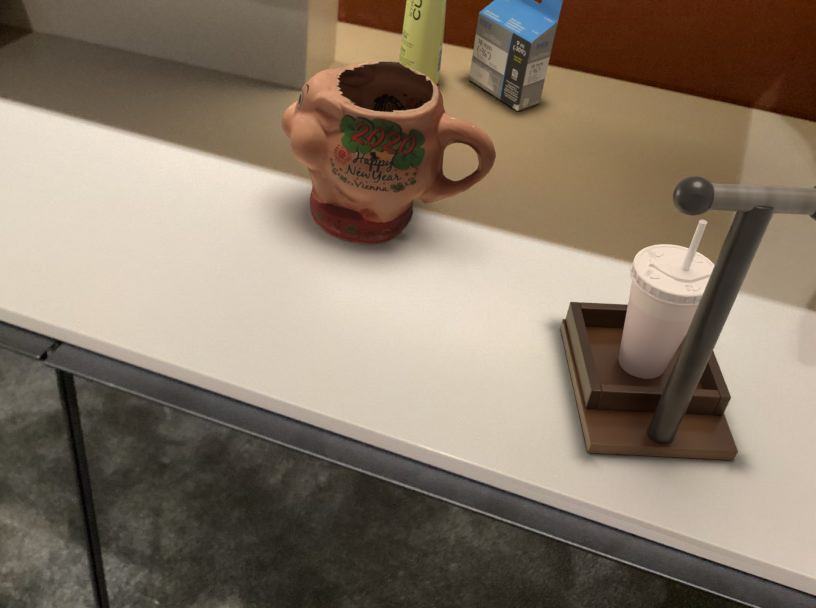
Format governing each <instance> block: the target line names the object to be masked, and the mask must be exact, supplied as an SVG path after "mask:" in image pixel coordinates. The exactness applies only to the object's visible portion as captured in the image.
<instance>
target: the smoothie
mask: <svg viewBox="0 0 816 608" xmlns="http://www.w3.org/2000/svg"><path fill="white" fill-rule="evenodd" d="M707 225H708V221H707V220H705V219H700V220H699V221H698V224H697V226H696V228H695V231H694V233H693V236H692V239H691V242H690V244H689V246H688V247H685V246H682V245H677V244H671V243H669V244H668V243H661V244H660V243H659V244H654V245H653V244H652V245H649V246H646V247H644V248H642V249H640V250H639V251H638V252H637V253H636V255H635V256H634V258H633V261H632V263H631V265H630V266H629V267H630V268H629V276H630V278H631V285H630V290H629V296H628V302H627V305H628V307H627V313H626V318H625V324H624V329H623V335H622V341H621V346H620V352H619V358H618V361H619V364H620V366H621V367H622V368H623V369H624V370H625V371H626V372H627V373H629V374H631V375H633V376H635V377H638V378H643V379H652V378H656V377H659V376H660V375H661V374H662V373H663V372H664V370H665V369H666V367H667V365H668V364H669V362H670V360H671V359H672V357H673V356H674V354H675V352H676V351H677V349H678V347H679V346H680V344H681V342H682V341H683V339H684V337H685V336H686V334H687V331H688V329H689V327H690V324H691V322H692V319H693V317H694V314H695V312H696V309H697V307H698V305H699V302H700V300H701V297H702V295H703V292H704V290H705V287H706V285H707V283H708V280H709V278H710V275H711V273H712V270H713V268H714V265H715V263H714V262H713V261H711V260H710V258H708V257H706V255H704V254H702V253H700V252H698V248H699V245H700V243H701V240H702V238H703V235H704V233H705V230H706V227H707Z"/></svg>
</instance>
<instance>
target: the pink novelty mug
mask: <svg viewBox="0 0 816 608" xmlns="http://www.w3.org/2000/svg"><path fill="white" fill-rule="evenodd" d="M280 125H281V129H282V131H283V133H284V135H286V137H287V138H288V139H289V140H290V148H291V152H292V155H293V156H294V158H295V159H296V160H297V161H298V162H300V163H301V164H303V165H304V166H306V168H307V171H308V174H309V177H310V180H311V190H310V195H309V210H310V214H311V216H312V219H313V221H314V222H315V223H316V225H318V227H320V229H321V230H322V231H324V232H325V233H327V234H329V235H331V236H332V237H336V238H338V239H340V240H344V241H347V242H352V243H357V244H364V245H376V244H383V243H387V242H389V241H391V240H393V239H395V238H396V237H397V236H398V235H399V234H401V233H402V232H403V231H404V230H405V229H406V228H407V227H408V225H409V224H410V222H411V220H412V218H413V214H414V201H415V199H418V200H420V201H421V202H422V203H424V204H432V203H434V202H437V201H442V200H445V199H450V198H453V197H456V196H457V195H459V194H461V193H463V192H466V191H468V190H470V188H472V187H473V186H475V185H477V184H478V183H479V182H481V181H482V180H483V179H485V177H487V175H488V174H489V173H490V171H491V170H492V168H493V167H494V164H495V162H496V157H497V154H496V149H495V145H494V142H493V140H492V138H491V137H490V136H489V134H488V133H487V132H486V131H485V130H484V129H482V127H480V126H478V125H477V124H475V123H473V122H472V121H468V120H465V119H463V118H458V117H452V116H450V115H448V114H447V112H446V110H445V106H444V99H443V94H442V92H441V90H440V88H439V86H438V85H437V84H435V83H434V82H433V81H432V80H431V79H430V78H429V77H428V76H426V75H424V74H422V73H420V72H418V71H416V70H414V69H412V68H409V67H406V66H403V65H402V64H401V63H399V61H370V62H369V61H367V62H365V61H364V62H355V63H352V64H349V65H346V66H342V67H335V68H329V69H324V70H322V71H319V72H317V73H315V74H313V75H312V76H311V77H310V78H309V79H308V81H306V82H305V84H304V85H303V86H302V88H301V89H300V92H299V96H298V100H296V101H295V102H293V103H292V104H290V106H288V107H287V108H286V109H285V110H284V112H283V113H282V115H281V119H280ZM452 144H463V145H467V146H469V147H470V148H471V149H473V150H474V152H475V154H476V156H477V161H478V165H477V168H476V170H474V171H473V172H472V173H470V174H469V175H467V176H465V177H463V178H461V179H459V180H453V179H450V178H448V177H446V175H445V173H444V169H443V167H444V154H445V150H446V148H447V147H449V146H451V145H452Z"/></svg>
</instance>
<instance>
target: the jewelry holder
mask: <svg viewBox="0 0 816 608" xmlns="http://www.w3.org/2000/svg"><path fill="white" fill-rule="evenodd" d="M672 202H673V205H674V207H675V209H676V210H677V211H678V212H679V213H681V214H682V215H684V216H687V217H698V216H701V215H703V214H705V213H707V212H708V211H714V212H715V211H716V212H719V211H720V212H735V214H734V217H733V219H732V222H731V224H730V226H729V229H728V231H727V234H726V236H725V239H724V241H723V244H722V246H721V249H720V251H719V253H718V256H717V258H716V261H715V263H714V268H713V270H712V273H711V275H710V278H709V280H708V283H707V285H706V287H705V290H704V292H703V295H702V297H701V300H700V302H699V305H698V307H697V309H696V312H695V314H694V317H693V319H692V322H691V324H690V327H689V329H688V331H687V334H686V336H685V337H684V339H683V341H682V342H681V344H680V346H679V347H678V349H677V351H676V352H675V354H674V356H673V357H672V359H671V360H670V362H669V364H668V365H667V367H666V369H665V370H664V372H663V373H662V374H661V375H660V376H659V377H656V378H652V379H643V378H638V377H635V376H633V375H631V374H629V373H627V372H626V371H625V370H624V369H623V368H622V367H621V366H620V364H619V361H618V358H619V352H620V346H621V341H622V335H623V329H624V324H625V318H626V313H627V307H628V304H627V303H626V304H623V303H606V302H605V303H604V302H603V303H602V302H585V301H584V302H582V301H581V302H579V301H570V302H569V305H568V309H567V311H566V316H565V318H563V319H562V321H561V323H560V326H559V328H560V332H561V337H562V342H563V346H564V350H565V354H566V359H567V360H566V361H567V365H568V369H569V373H570V378H571V383H572V387H573V391H574V396H575V400H576V404H577V405H576V406H577V409H578V414H579V418H580V422H581V427H582V433H583V436H584V441H585V445H586V450H587V453H588V454H604V455H605V454H606V455H623V456H624V455H625V456H644V457H645V456H647V457H665V458H681V459H683V458H684V459H685V458H686V459H703V460H705V459H706V460H721V461H722V460H724V461H734V460H735V458H736V457H737V455H738V453H739V449H738V448H737V445H736V442H735V439H734V437H733V435H732V431H731V429H730V426H729V422H728V420H727V418H726V415H725V412H726V410H727V407H728V405H729V404H730V402H731V400H732V396H731V393H730V391H729V388H728V385H727V383H726V380H725V378H724V375H723V372H722V370H721V367H720V364H719V362H718V359H717V356H716V354H715V351H714V349H715V347H716V345H717V343H718V341H719V338H720V336H721V334H722V331H723V329H724V326H725V325H726V322H727V320H728V318H729V316H730V313H731V311H732V309H733V306H734V304H735V302H736V299H737V297H738V295H739V293H740V290H741V288H742V286H743V284H744V281H745V279H746V277H747V275H748V273H749V270H750V268H751V265H752V263H753V261H754V259H755V256H756V254H757V252H758V250H759V247H760V245H761V243H762V240H763V238H764V236H765V234H766V231H767V230H768V228H769V225H770V222H771V221H772V218H773V215H774V214H779V215H781V214H782V215H797V216H798V215H800V216H809V217H810V218H811V219H812V220H814V221H816V185H815V186H813V187H797V186H779V185H778V186H777V185H756V184H736V183H735V184H734V183H717V182H716V183H715V182H713V183H712V181H710V180H709V179H708V178H706V177H704V176H701V175H690V176H687V177H685V178H682V179H681V180H680V181H679V182H678V183H677V184H676V186H675V187H674V189H673V193H672Z"/></svg>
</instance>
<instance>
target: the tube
mask: <svg viewBox="0 0 816 608" xmlns="http://www.w3.org/2000/svg"><path fill="white" fill-rule="evenodd" d="M446 11H447V0H406V2H405V9H404V17H403V24H402V33H401V40H400V50H399V59H398V62H399V63H401V64H402V65H403V66H406V67H409V68H412V69H414V70H416V71H418V72H420V73H422V74H424V75H426V76H428V77H429V78H430V79H431V80H432V81H433V82H434V83H435V84H436V85H437V84H438V83H439V82H440V75H441V68H442V67H441V65H442V56H443V55H442V54H443V46H444V37H445V36H444V35H445V23H446Z"/></svg>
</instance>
